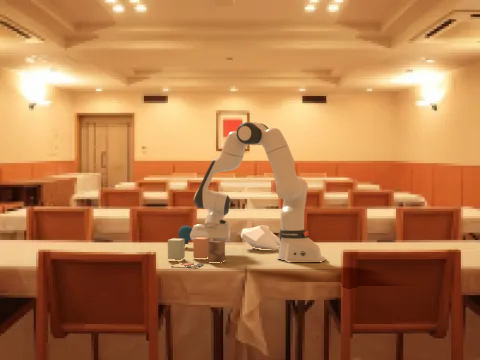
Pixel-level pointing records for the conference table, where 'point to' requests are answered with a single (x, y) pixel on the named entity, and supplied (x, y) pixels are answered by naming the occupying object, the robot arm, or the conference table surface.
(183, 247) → the sage block
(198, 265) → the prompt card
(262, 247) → the paper
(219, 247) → the walnut block
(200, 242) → the terracotta block
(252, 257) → the conference table surface
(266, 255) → the conference table surface
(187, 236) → the light bulb
